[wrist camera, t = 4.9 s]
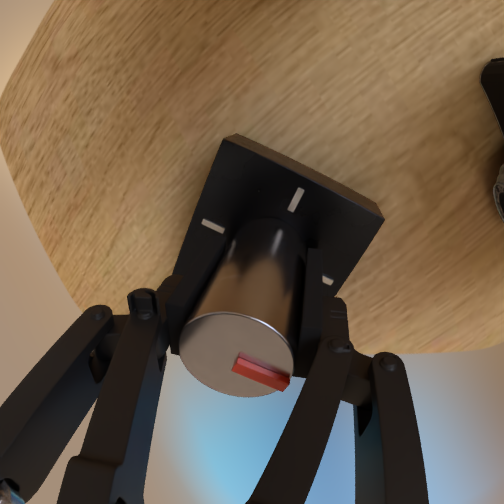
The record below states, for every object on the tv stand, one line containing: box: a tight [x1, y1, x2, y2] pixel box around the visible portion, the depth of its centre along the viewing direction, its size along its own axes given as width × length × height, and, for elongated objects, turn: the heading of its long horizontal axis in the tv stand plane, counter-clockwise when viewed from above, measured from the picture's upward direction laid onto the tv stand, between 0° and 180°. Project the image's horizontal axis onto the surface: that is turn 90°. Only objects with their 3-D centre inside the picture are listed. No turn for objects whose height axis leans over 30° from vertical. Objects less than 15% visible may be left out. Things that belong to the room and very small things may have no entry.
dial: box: [178, 217, 306, 397], centre depth 15 cm, size 4×4×9 cm
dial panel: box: [172, 134, 385, 297], centre depth 21 cm, size 10×10×3 cm
